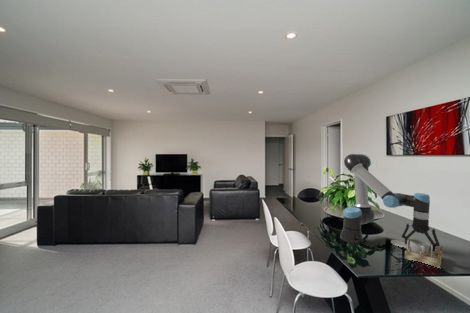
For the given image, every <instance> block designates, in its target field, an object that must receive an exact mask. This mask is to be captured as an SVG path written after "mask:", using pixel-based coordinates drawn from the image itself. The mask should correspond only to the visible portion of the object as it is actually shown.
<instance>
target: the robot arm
mask: <svg viewBox="0 0 470 313" xmlns="http://www.w3.org/2000/svg"><path fill="white" fill-rule="evenodd" d="M343 163H344V166H345V168H346V169H347V170H348V171H349V172H350V173H352V174H353V177H354V178H353V179H354V195H355V196H354V197H355V204H354V205H353V206H351V207H349V206H348V207H345V208H344V210H343V224H342V226H343V227H342V230H341V232H340V240H342V241H343V242H346V243H350V244H357V245H358V244H362V243H363V242H364V236H363V233H362V225H365V224H367V225H368V224H369V223H372V222H373V221H374V220H375V216H376V214H375V212H374V210H373V209H372V206H371V205H370V202H369V193H368V191H369V190H368V188H369V189H371V190H372V191H373V192H374V193H375V194H376V195H377V196H378V197H379V198H380V199H381V200H382V202H383V205H384V206H385V207H387V208H390V209H391V208H395V209H396V208H397V207H410V208H413V214H412V216H413V218H412V224H411V223H406V227H405V229H404V231H403V233H402V235H401V238H403V239H404V242H405V244H407V248H406V251H408V250H409V239H410V237H411V236H412V235H413V234H415V233H418V234H419V233H420V234H423V235H425V237H427V240H428V242H430V244H431V257H432V256H433V251H434V252H435V249H436V247H440V246H441V245H440V242H439V239H438V237H437V234H436V228H430V226H429V219H430V205H431V204H430V203H431V200H430V199H431V198H430V194H427V193H420V192H415V193H414V194H413V195H411V194H406V193H401V192H397V193H396V192H393V191H391V190H390V189H389V188H388V187H387V186H386V185H384V183H382V182H381V181H380V180H379V179H378V178H376V177H375V175H373V174H372V173H371V172H370V171H369V168H370V166H371V164H372V160H371V159H370V157H369V156H368V155H365V154H362V153H360V154H355V153H351V154H348V155H346V156H345V158H344V161H343ZM411 227H412V229H413V230H411V232H409V234H407V232H408V230H409V229H410V228H411ZM429 231H430V233H431V234H432V237H431V235H430V234H429ZM406 234H407V235H406ZM432 238H433V239H434V240H433V239H432Z"/></svg>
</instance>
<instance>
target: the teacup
mask: <svg viewBox="0 0 470 313" xmlns="http://www.w3.org/2000/svg"><path fill="white" fill-rule="evenodd" d="M408 239H409V247H411V251H412V252H413V253H417V254H420V255H423V251H426V253H425V256H427V255H429V254H430V251H431V245H432V244H431V242H430V243H429V241H428V242H427V241H425V240H422V239H417V238H408Z"/></svg>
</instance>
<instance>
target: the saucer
mask: <svg viewBox="0 0 470 313" xmlns="http://www.w3.org/2000/svg"><path fill="white" fill-rule="evenodd" d="M390 243H391V245H393V246H396V247H398V246H399V248H402V247H404V249H407V244H405V240H404V241H403V240H399V239H392V240H391V239H390Z"/></svg>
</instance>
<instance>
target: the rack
mask: <svg viewBox="0 0 470 313" xmlns="http://www.w3.org/2000/svg"><path fill="white" fill-rule="evenodd" d="M425 253H426V251H423V255H420V254H417V253H413V252H412V251H411V247H409V250H407V249H406V250H404V260H409V261H411V260H413V261H412V262H414V261H418V262H422V263H425V264H428V265H431V266H434V267H433V268H435V267H437V268H436V269H438V268H440V269H441V267H440V266H442V261H441V260H442V259H443V246H442V245H439V249H436V248H435V252H434V251H433V256H432V257H431V251H430V254H429V255H427V256H425ZM418 262H417V263H418ZM428 265H427V266H428ZM431 266H430V267H431Z"/></svg>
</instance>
